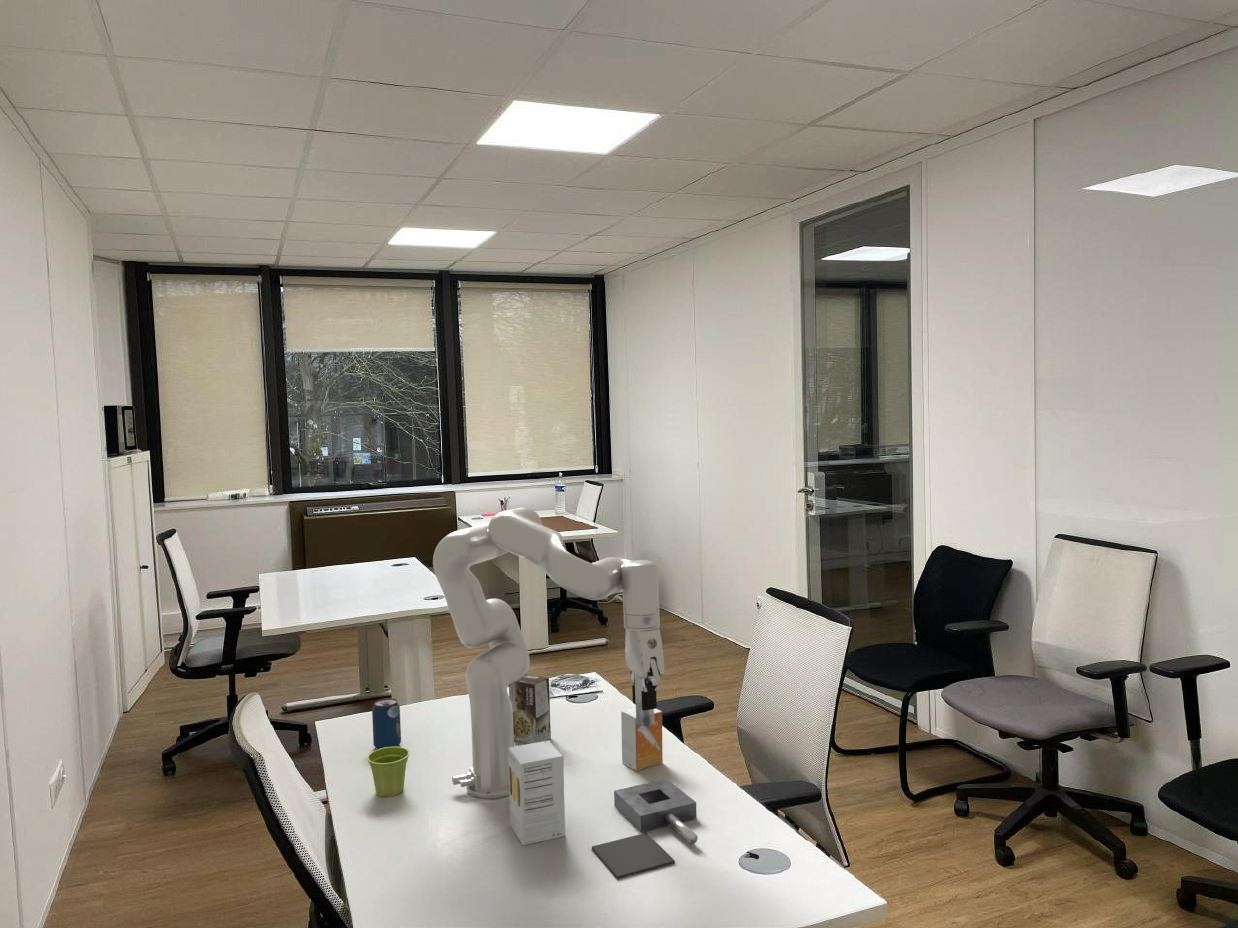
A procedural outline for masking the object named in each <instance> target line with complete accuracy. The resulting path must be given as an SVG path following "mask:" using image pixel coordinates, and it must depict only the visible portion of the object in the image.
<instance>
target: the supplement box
mask: <svg viewBox="0 0 1238 928" xmlns="http://www.w3.org/2000/svg"><path fill="white" fill-rule="evenodd" d="M508 757H509V792H510V795H509V823H510V824H509V825H510V827H511V828H512V830H513V832H514V834H515V835H516V837H517V839H518V840H519V842H520V843H521V846H526V845H531V844H536V843H540V841H541V842H544V841H549V840H553V839H557V838H563V837H565V836H566V822H565V821H566V819H565V817H566V816H565V814H566V813H565V776H564V775H565V770H564V768H565V767H564V756H563V754H562V753H561V752H560V751H559V750H558V749H557V748H556V747H555V746H554V744H553V743H552V742H551V740H546V741H543V742H537V743H531V744H530V743H526V744H521V745H514V747H510V748H508Z"/></svg>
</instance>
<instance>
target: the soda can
mask: <svg viewBox="0 0 1238 928" xmlns="http://www.w3.org/2000/svg"><path fill="white" fill-rule="evenodd" d="M371 715H372V718H371V719H372V720H371V721H372V736H373V737H372V739H373V741H372V743H373V747H374V748H375V750H378V749H381V748H385V747H400V745H401V743H402V729H401V727H402V726H401V708H400V705H399V703H398V700H397V698H396V699H395V698H391V697H389V698H387V697H386V698H381V699H378V700H376V701H374V704H373V706H372V709H371Z"/></svg>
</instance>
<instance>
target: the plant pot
mask: <svg viewBox="0 0 1238 928" xmlns="http://www.w3.org/2000/svg"><path fill="white" fill-rule="evenodd" d="M410 754H411V751H410V750H409V749H408V748H406V747H402V746H399V747H385V748H381V749H378V750H377V749H375V750H373V751H371V752H370V753H368V754H367V756H366V759H367V762H368V763H369V766H370V768H371V771H372V772H371V773H372V779H373V783H374V784H373V785H374V789H375V793H376V795H377V796H379V797H381V798H382V797H389V798H390V797H394V796H398V795H400V794H401V793H402V792H403V790H404V789H405V780H406V778H405V777H406V769H407V762H408V759H409V757H410Z"/></svg>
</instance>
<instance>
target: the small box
mask: <svg viewBox="0 0 1238 928" xmlns="http://www.w3.org/2000/svg"><path fill="white" fill-rule="evenodd" d="M620 713H621V715H620V717H621V718H620V719H621V763H622V764H624V765H625V766H627V767H628V768H630V769H632V770H634V771H635V772H637V771H640V770H643V769H646V768H650V767H654V766H657V765H661V764H663V762H664V761H663V711H662V710H660V709H658V708H656V709H654V724H653V725H650V726H639V725H637V724H636V706H635V707H631V708H630V709H629V708H628V709H625V710H621V711H620Z"/></svg>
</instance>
